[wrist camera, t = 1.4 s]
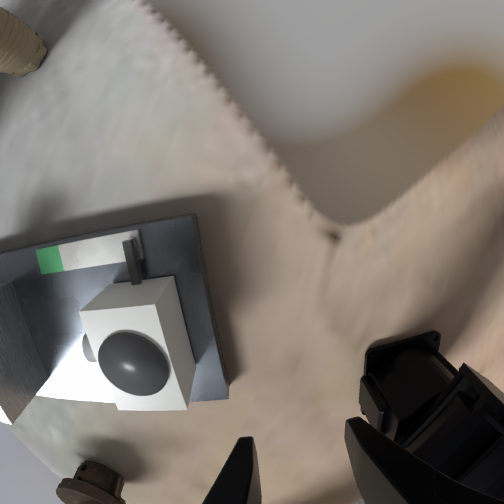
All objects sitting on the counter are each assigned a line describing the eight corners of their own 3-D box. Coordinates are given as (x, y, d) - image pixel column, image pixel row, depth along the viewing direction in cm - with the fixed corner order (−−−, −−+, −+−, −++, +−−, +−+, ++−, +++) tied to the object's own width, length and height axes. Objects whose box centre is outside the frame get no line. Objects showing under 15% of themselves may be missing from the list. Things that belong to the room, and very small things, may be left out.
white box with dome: (165, 232, 16) (140, 250, 12) (196, 367, 18) (187, 412, 13) (79, 247, 16) (39, 267, 11) (117, 371, 18) (95, 410, 13)
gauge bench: (195, 213, 17) (163, 237, 10) (229, 385, 20) (226, 467, 13) (-9, 255, 17) (-74, 283, 10) (38, 385, 20) (-2, 436, 12)
